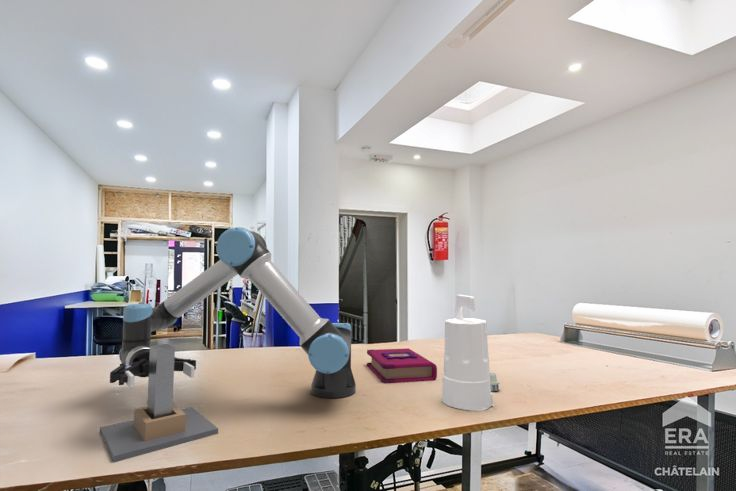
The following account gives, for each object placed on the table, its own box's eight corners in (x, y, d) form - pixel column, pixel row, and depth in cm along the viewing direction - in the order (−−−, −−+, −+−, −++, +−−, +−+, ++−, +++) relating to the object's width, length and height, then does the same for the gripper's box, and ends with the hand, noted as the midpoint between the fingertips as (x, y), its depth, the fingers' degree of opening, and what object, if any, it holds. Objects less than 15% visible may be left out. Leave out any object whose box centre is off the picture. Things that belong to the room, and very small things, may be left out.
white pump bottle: (503, 406, 117) (501, 296, 119) (463, 413, 111) (461, 297, 113) (469, 391, 131) (468, 293, 133) (432, 397, 125) (432, 294, 127)
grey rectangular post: (163, 421, 100) (166, 343, 102) (171, 429, 95) (174, 348, 96) (146, 425, 98) (149, 345, 99) (153, 434, 92) (157, 350, 94)
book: (411, 363, 172) (411, 346, 172) (437, 381, 145) (437, 361, 145) (366, 366, 167) (366, 348, 168) (383, 384, 140) (383, 363, 140)
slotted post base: (191, 411, 111) (192, 392, 111) (218, 433, 96) (218, 412, 97) (99, 432, 96) (100, 410, 97) (114, 462, 82) (115, 436, 82)
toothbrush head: (465, 363, 157) (501, 370, 133) (466, 380, 155) (503, 390, 132) (453, 364, 155) (488, 370, 132) (454, 381, 154) (489, 391, 130)
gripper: (188, 367, 119) (214, 382, 103) (89, 382, 102) (102, 403, 87) (189, 343, 119) (215, 354, 104) (91, 354, 103) (104, 369, 87)
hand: (164, 377), depth 95 cm, fingers open, 13 cm apart
